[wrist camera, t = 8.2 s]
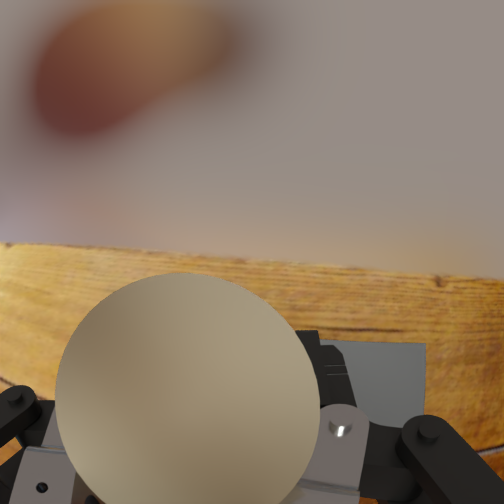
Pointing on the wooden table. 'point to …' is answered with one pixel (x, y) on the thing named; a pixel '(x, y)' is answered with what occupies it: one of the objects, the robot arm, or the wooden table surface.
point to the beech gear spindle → (187, 396)
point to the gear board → (386, 379)
